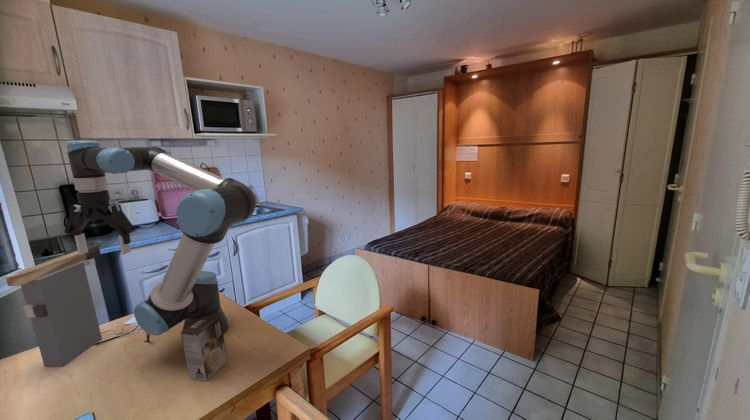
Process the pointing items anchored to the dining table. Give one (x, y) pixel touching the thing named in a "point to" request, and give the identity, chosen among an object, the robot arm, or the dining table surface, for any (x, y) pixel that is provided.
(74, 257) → the wooden bar
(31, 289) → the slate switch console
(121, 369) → the dining table surface
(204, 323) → the coffee box
